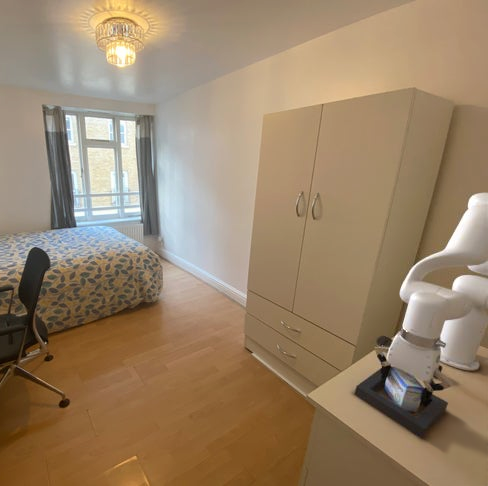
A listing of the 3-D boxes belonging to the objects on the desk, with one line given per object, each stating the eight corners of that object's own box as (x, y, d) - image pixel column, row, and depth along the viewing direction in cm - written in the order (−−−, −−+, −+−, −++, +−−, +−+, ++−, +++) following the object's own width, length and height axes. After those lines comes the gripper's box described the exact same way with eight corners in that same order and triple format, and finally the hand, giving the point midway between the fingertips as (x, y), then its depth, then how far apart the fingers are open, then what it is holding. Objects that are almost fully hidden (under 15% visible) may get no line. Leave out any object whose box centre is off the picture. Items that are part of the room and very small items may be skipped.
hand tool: (441, 375, 91) (445, 363, 89) (434, 378, 89) (438, 367, 88) (380, 342, 108) (383, 331, 106) (373, 344, 106) (376, 334, 105)
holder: (380, 375, 91) (382, 367, 90) (445, 411, 78) (448, 402, 77) (354, 394, 83) (356, 385, 83) (421, 438, 70) (424, 429, 69)
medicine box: (383, 388, 85) (389, 365, 82) (399, 390, 84) (406, 367, 82) (399, 410, 77) (407, 386, 75) (417, 412, 77) (425, 388, 74)
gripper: (469, 350, 69) (449, 403, 74) (387, 317, 83) (375, 364, 88) (458, 360, 65) (438, 416, 70) (375, 324, 80) (363, 373, 85)
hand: (403, 387), depth 79 cm, fingers closed on medicine box, 8 cm apart
